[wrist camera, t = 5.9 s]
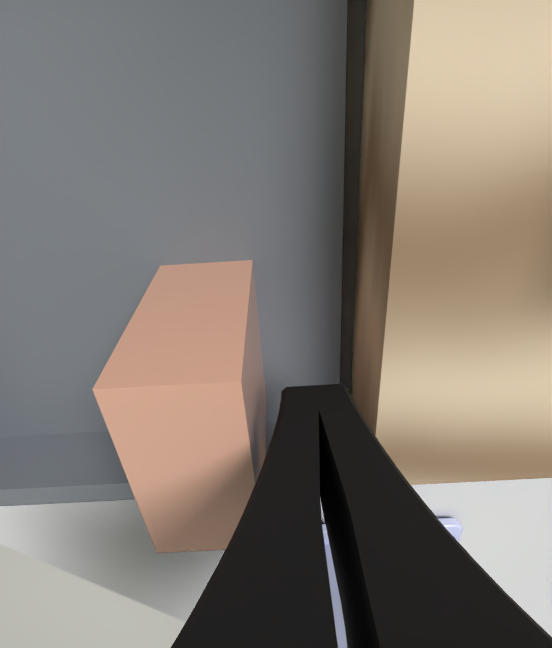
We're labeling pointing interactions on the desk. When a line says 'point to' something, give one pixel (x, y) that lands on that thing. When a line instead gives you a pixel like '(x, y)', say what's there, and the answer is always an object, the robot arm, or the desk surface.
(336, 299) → the tray
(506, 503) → the desk surface
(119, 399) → the terracotta tile
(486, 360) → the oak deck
